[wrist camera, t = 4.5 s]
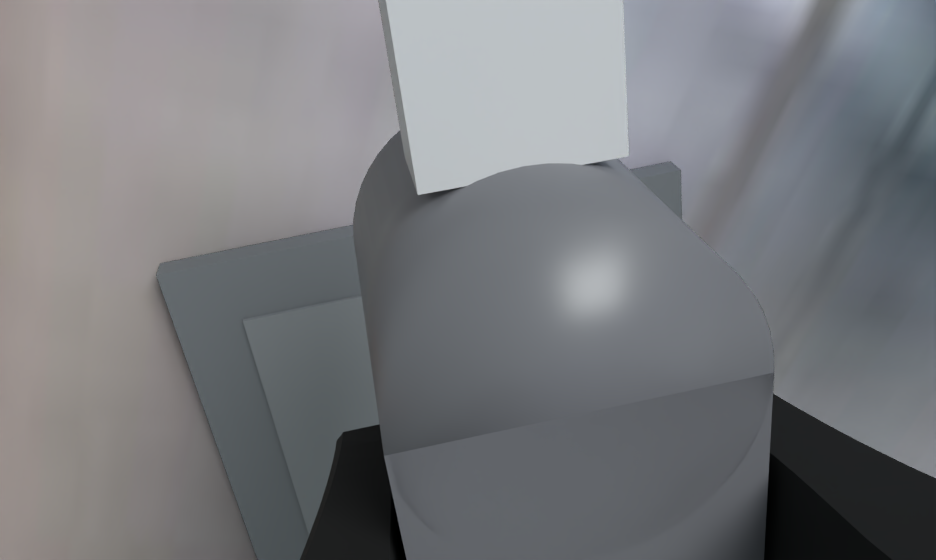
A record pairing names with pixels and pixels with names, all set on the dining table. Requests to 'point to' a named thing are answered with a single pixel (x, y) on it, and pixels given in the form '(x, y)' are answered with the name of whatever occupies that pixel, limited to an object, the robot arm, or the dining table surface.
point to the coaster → (288, 365)
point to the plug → (549, 307)
